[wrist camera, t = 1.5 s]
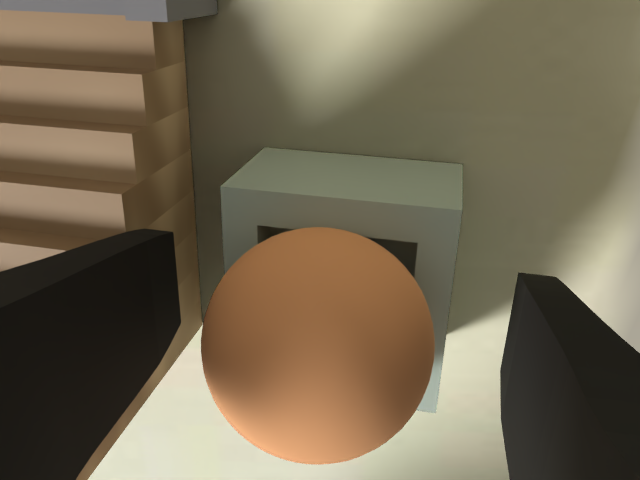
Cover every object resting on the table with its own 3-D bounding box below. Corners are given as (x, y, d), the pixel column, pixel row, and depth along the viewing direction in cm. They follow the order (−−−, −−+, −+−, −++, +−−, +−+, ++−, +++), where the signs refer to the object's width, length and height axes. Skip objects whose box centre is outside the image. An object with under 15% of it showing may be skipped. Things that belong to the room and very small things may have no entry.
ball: (428, 382, 13) (414, 543, 9) (247, 355, 13) (170, 493, 10) (449, 205, 11) (443, 317, 7) (243, 186, 12) (147, 278, 8)
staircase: (202, 324, 16) (77, 492, 11) (4, 296, 17) (-195, 436, 12) (182, 12, 13) (-9, 39, 8) (-60, 2, 14) (-370, 18, 9)
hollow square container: (440, 338, 15) (435, 413, 12) (267, 314, 15) (229, 380, 13) (462, 164, 13) (462, 210, 10) (264, 147, 14) (220, 186, 11)
